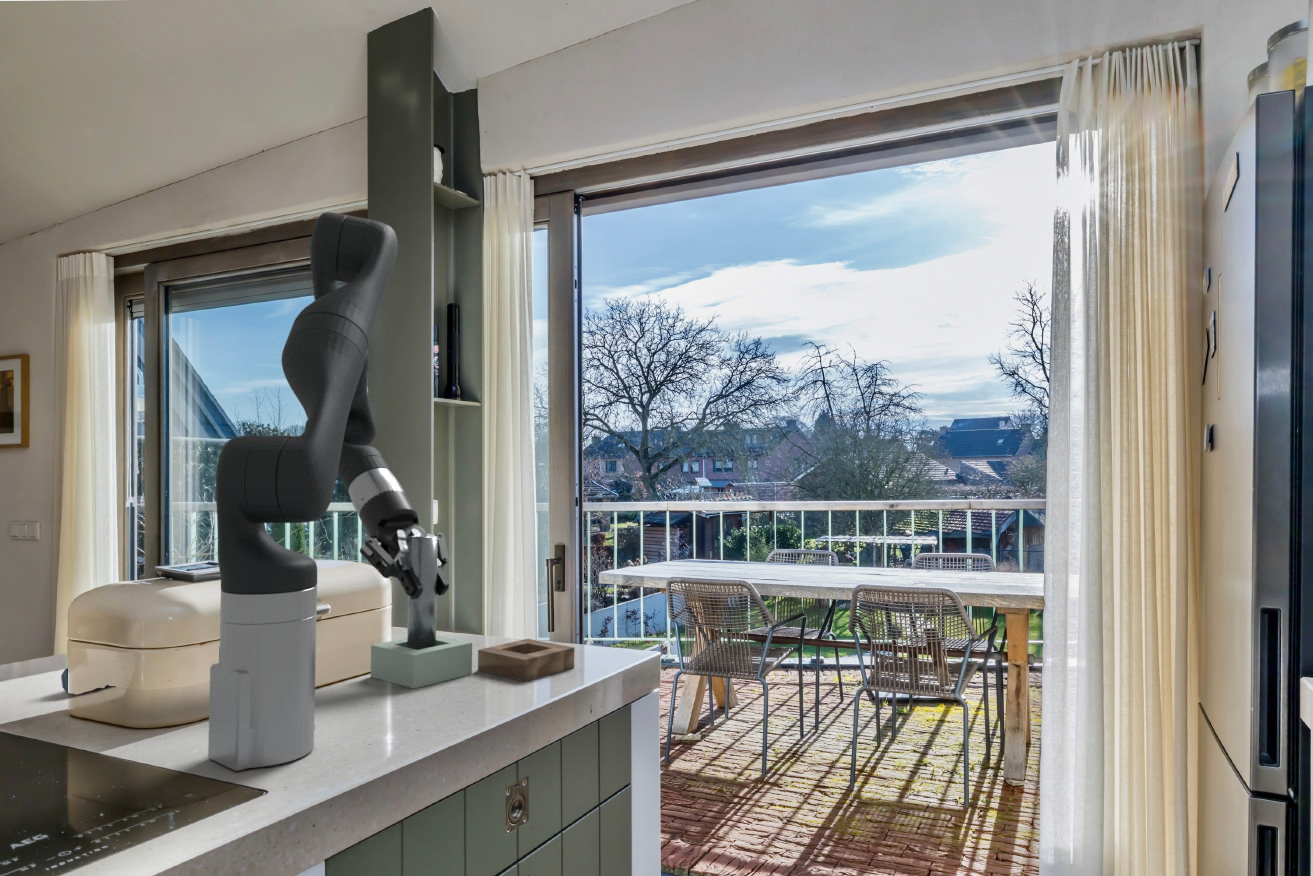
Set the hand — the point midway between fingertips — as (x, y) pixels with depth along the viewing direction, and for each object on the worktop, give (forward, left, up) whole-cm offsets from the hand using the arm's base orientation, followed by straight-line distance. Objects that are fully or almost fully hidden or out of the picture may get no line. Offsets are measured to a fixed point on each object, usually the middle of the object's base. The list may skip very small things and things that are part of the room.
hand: (431, 593), depth 118 cm
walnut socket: (+12, -7, -12) cm, 18 cm away
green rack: (0, +2, -12) cm, 12 cm away
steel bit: (0, +2, -8) cm, 8 cm away
